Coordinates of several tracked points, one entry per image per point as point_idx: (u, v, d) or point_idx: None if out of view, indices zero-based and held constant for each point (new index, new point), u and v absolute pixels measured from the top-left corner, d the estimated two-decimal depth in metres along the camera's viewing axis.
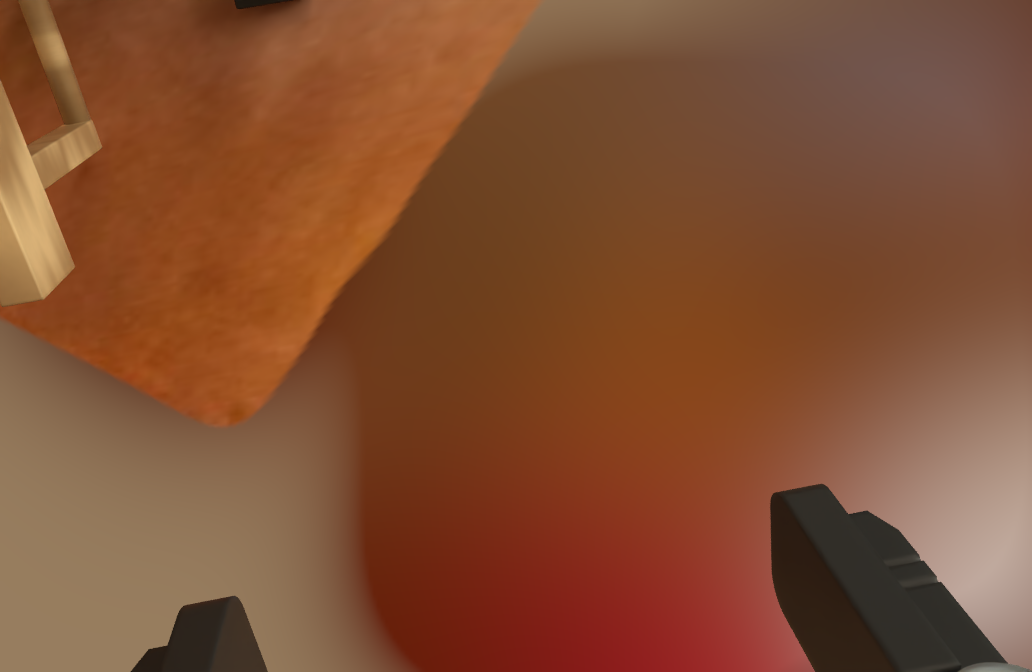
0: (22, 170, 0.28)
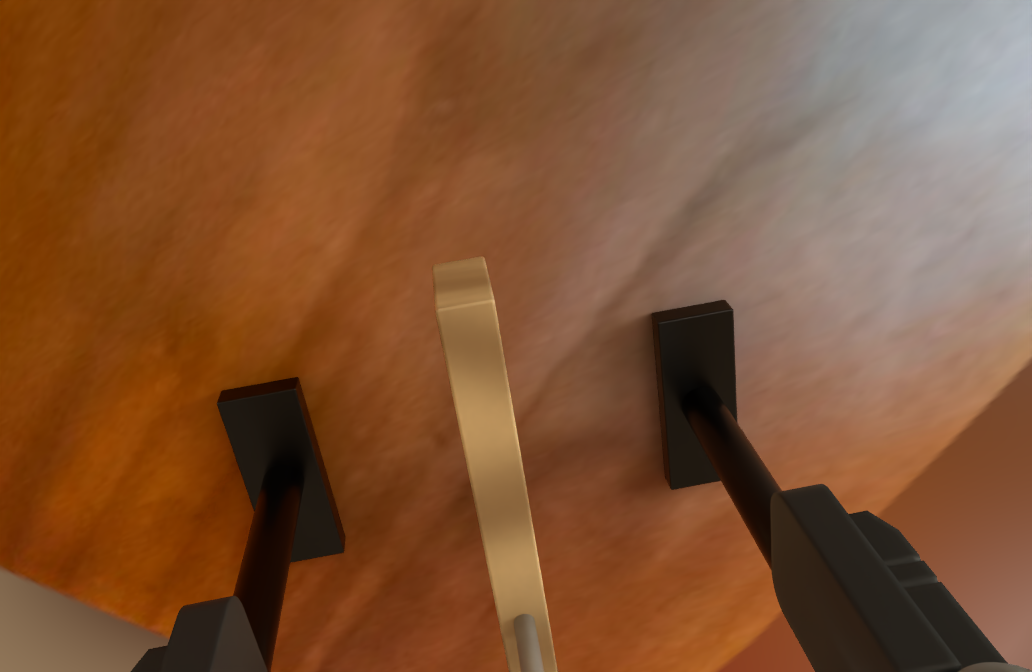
0: None
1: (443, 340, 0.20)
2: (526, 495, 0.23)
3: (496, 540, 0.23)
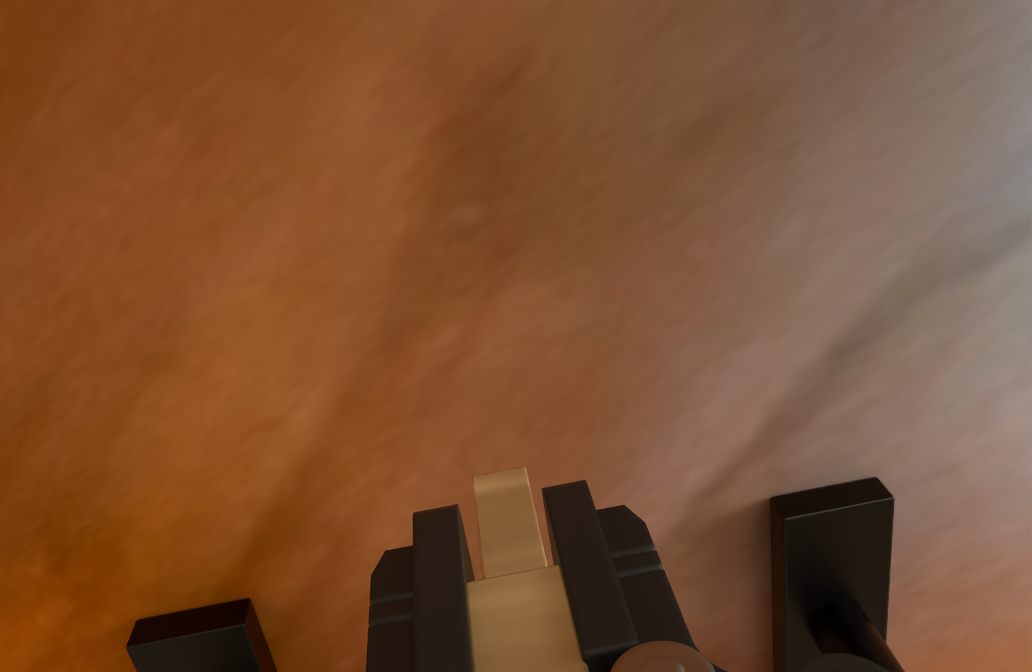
0: None
1: None
2: None
3: None
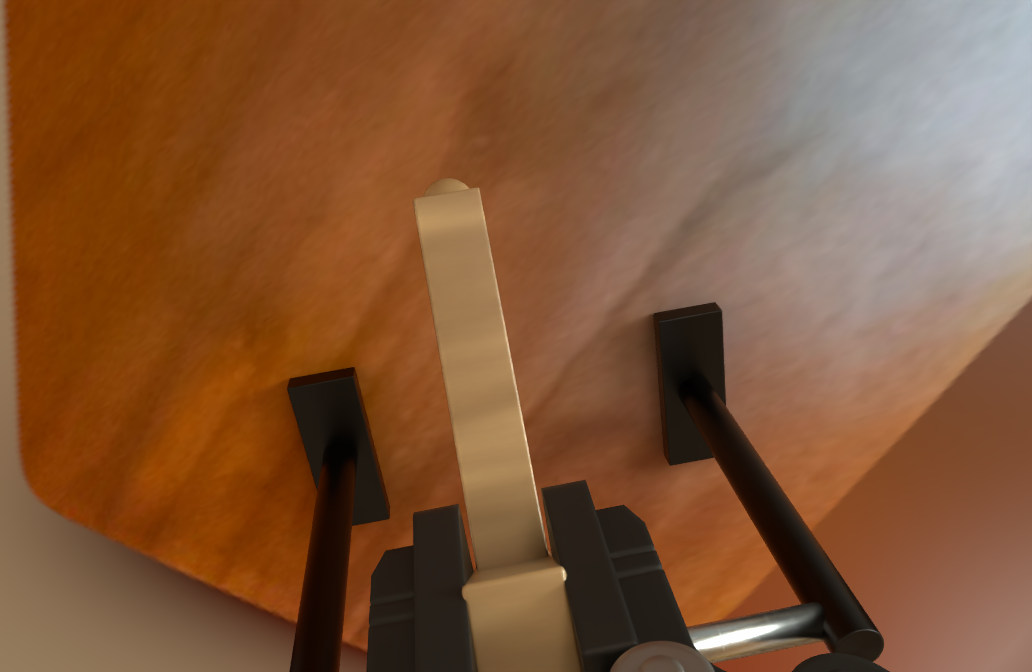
0: None
1: None
2: None
3: None
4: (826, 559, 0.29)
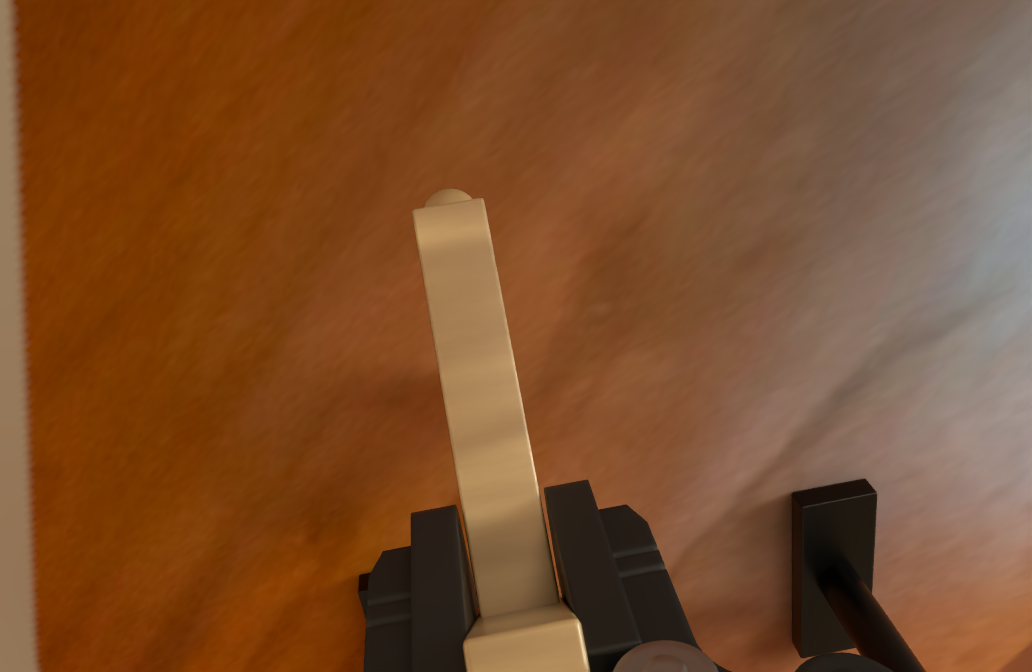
0: None
1: None
2: None
3: None
4: None
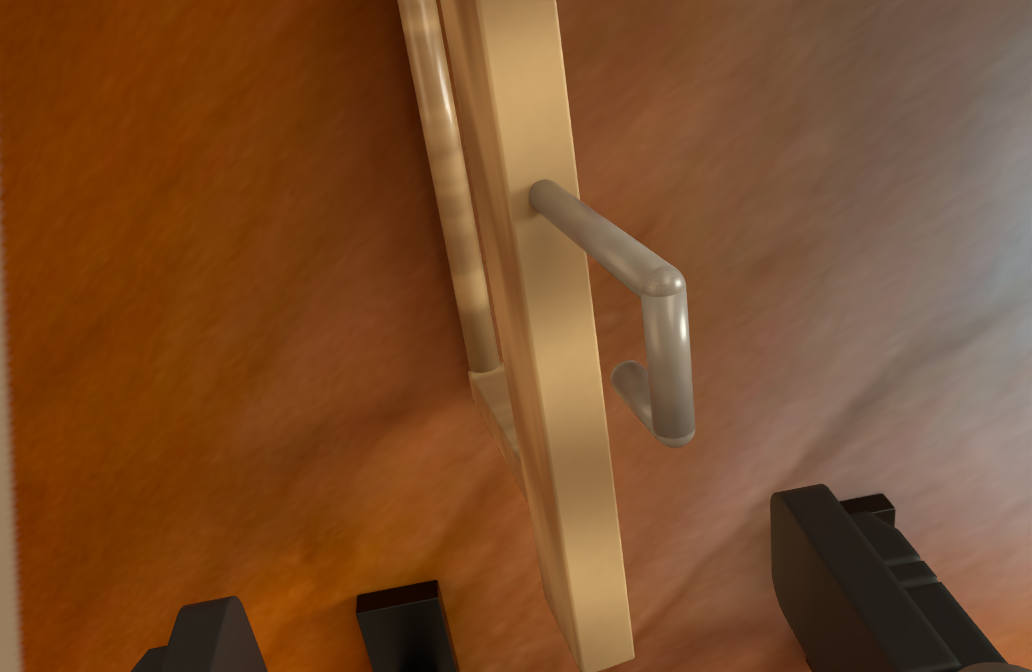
0: None
1: None
2: None
3: (501, 27, 0.14)
4: None
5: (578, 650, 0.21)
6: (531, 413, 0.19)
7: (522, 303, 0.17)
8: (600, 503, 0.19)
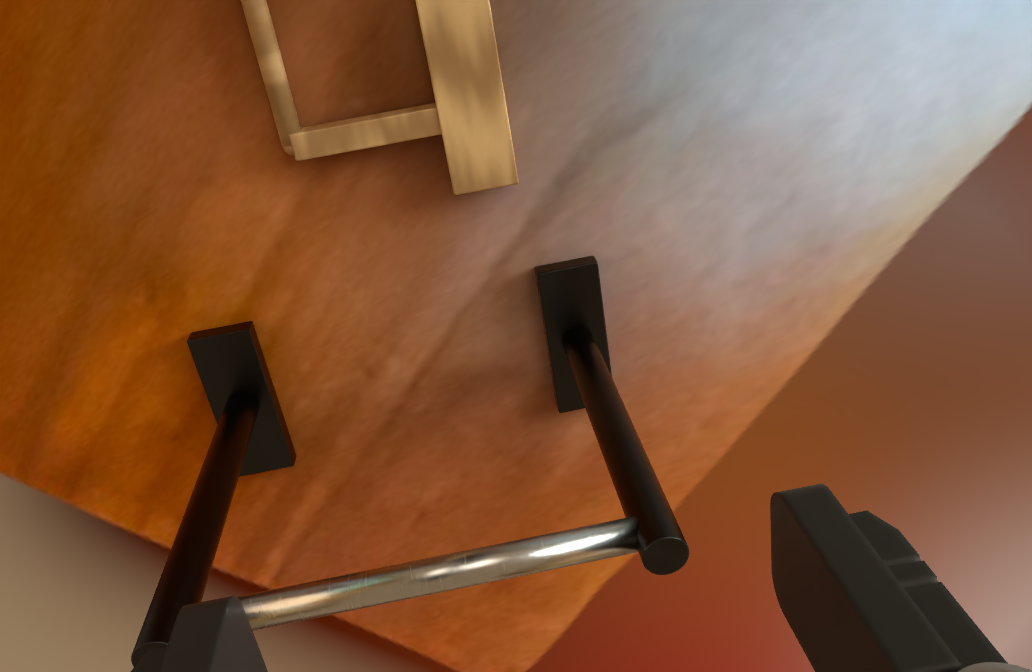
0: None
1: None
2: None
3: None
4: (653, 480, 0.31)
5: (513, 166, 0.39)
6: (471, 24, 0.36)
7: None
8: None
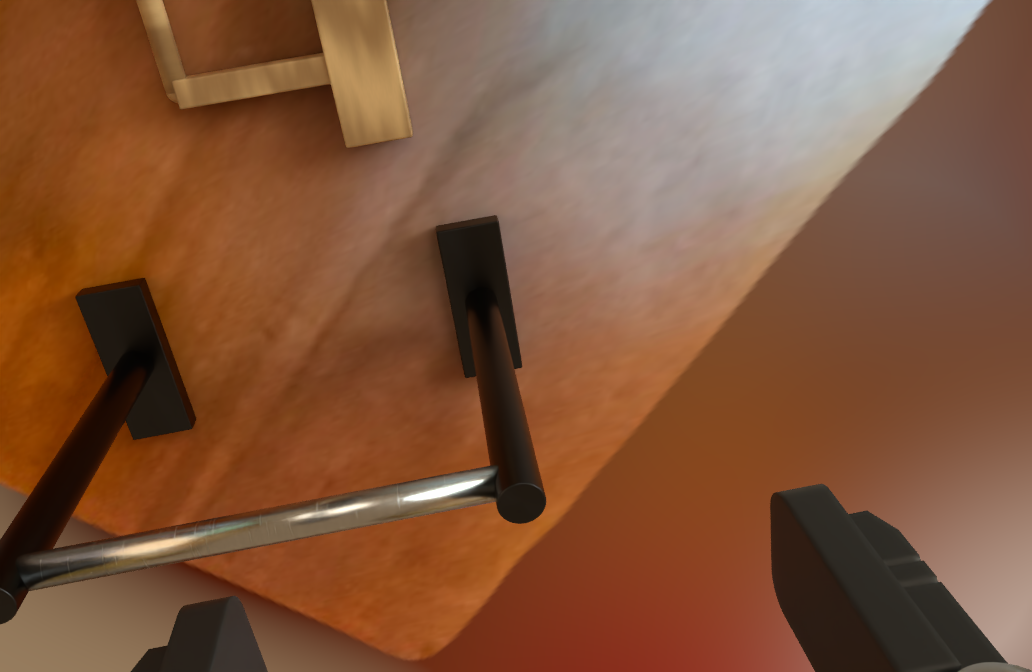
0: None
1: None
2: None
3: None
4: (521, 430, 0.31)
5: (406, 119, 0.38)
6: None
7: None
8: (389, 18, 0.37)
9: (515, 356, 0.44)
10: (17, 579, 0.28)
